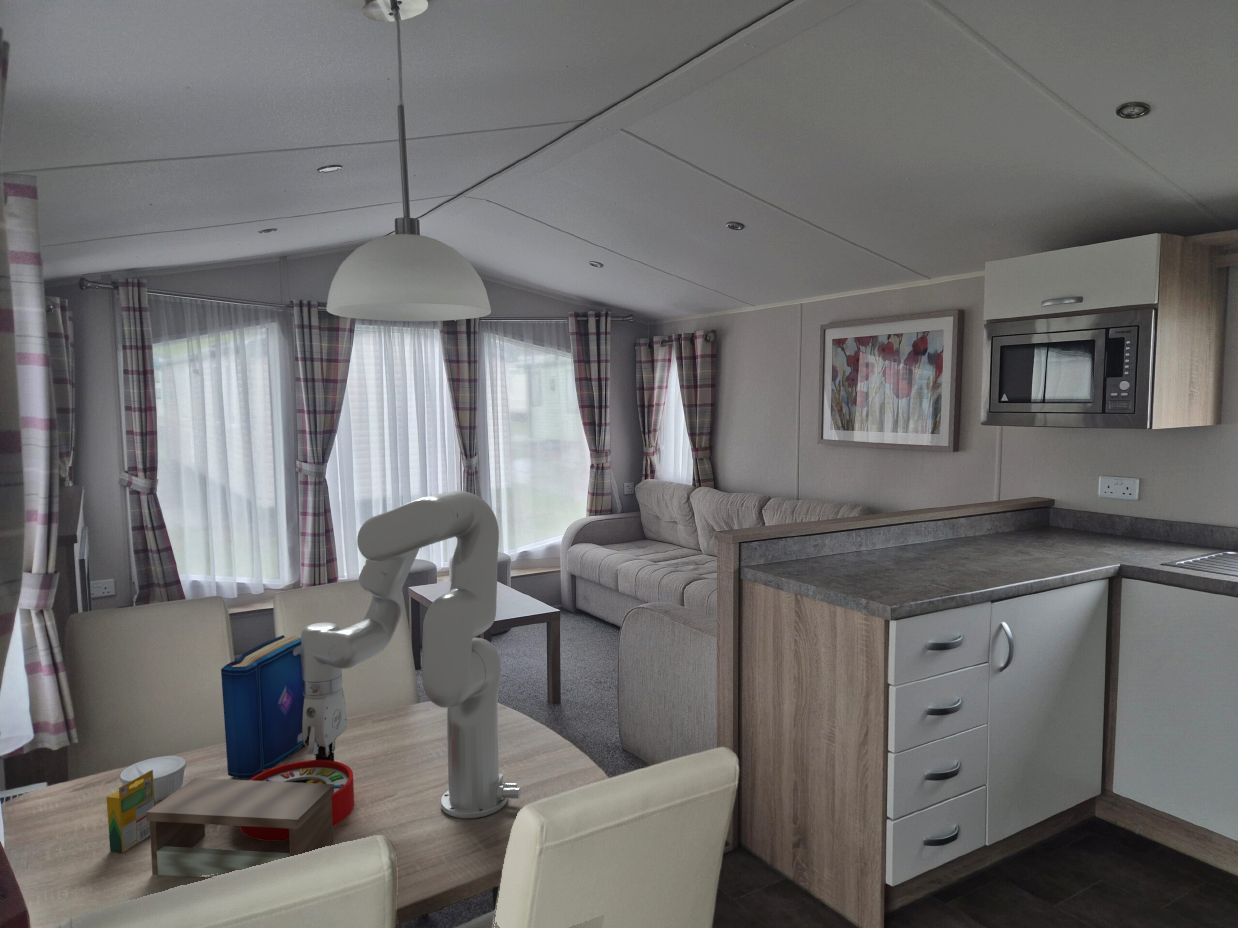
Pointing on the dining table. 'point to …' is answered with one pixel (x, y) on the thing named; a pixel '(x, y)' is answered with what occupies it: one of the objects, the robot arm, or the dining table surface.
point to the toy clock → (309, 774)
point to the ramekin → (158, 774)
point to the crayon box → (130, 813)
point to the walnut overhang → (236, 822)
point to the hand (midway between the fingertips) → (325, 772)
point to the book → (263, 706)
